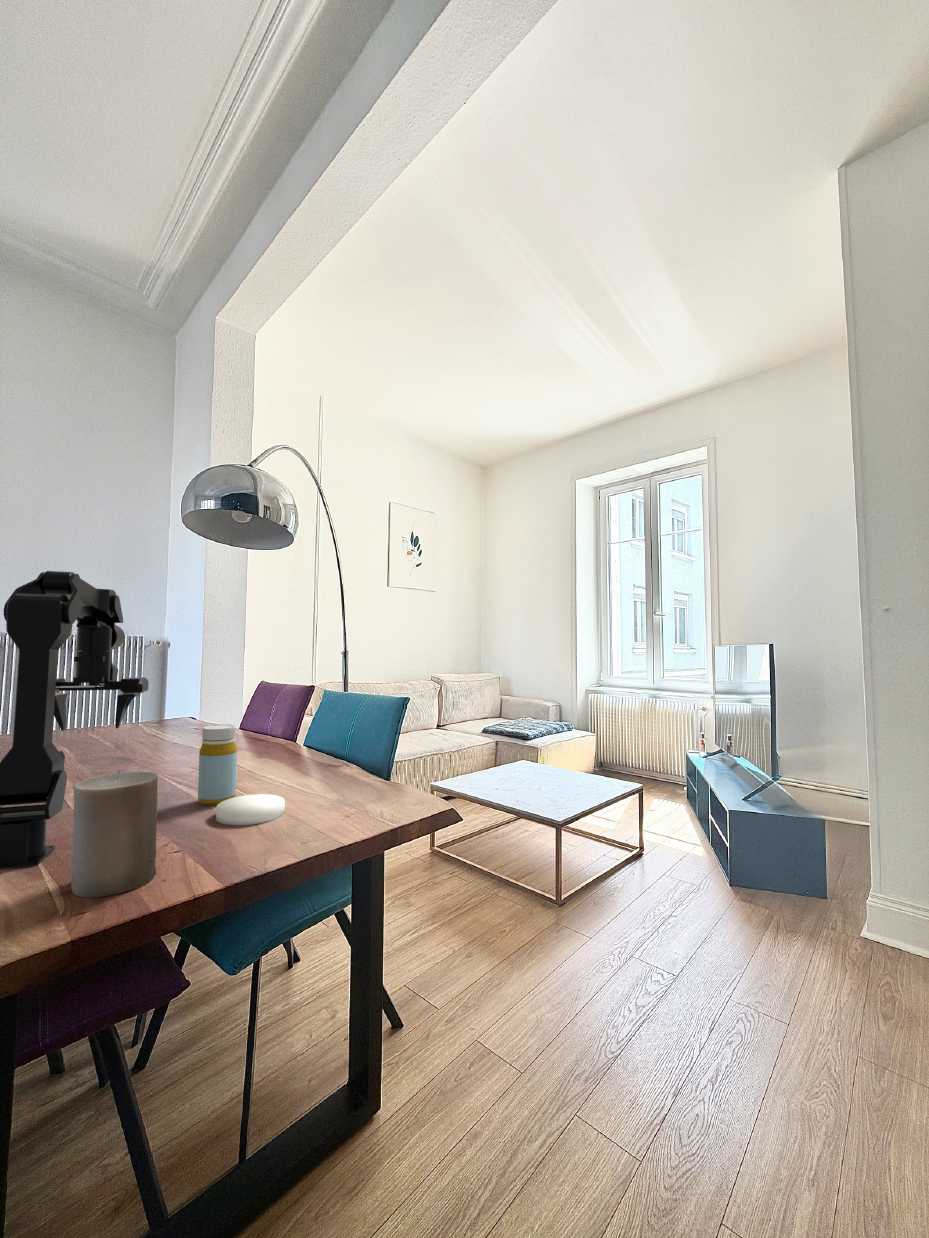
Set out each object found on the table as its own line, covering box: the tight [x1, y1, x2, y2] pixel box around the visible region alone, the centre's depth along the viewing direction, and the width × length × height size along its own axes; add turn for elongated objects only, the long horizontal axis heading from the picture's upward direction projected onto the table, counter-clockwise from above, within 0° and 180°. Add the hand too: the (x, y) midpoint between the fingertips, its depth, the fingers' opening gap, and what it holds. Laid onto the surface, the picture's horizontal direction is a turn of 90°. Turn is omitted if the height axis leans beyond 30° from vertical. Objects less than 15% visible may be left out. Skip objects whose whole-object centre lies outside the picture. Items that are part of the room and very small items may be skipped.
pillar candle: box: [70, 769, 159, 899], centre depth 72 cm, size 10×10×15 cm
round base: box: [215, 793, 286, 826], centre depth 99 cm, size 12×12×2 cm
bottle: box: [197, 724, 238, 806], centre depth 108 cm, size 7×7×15 cm
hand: (90, 729), depth 105 cm, fingers open, 9 cm apart
